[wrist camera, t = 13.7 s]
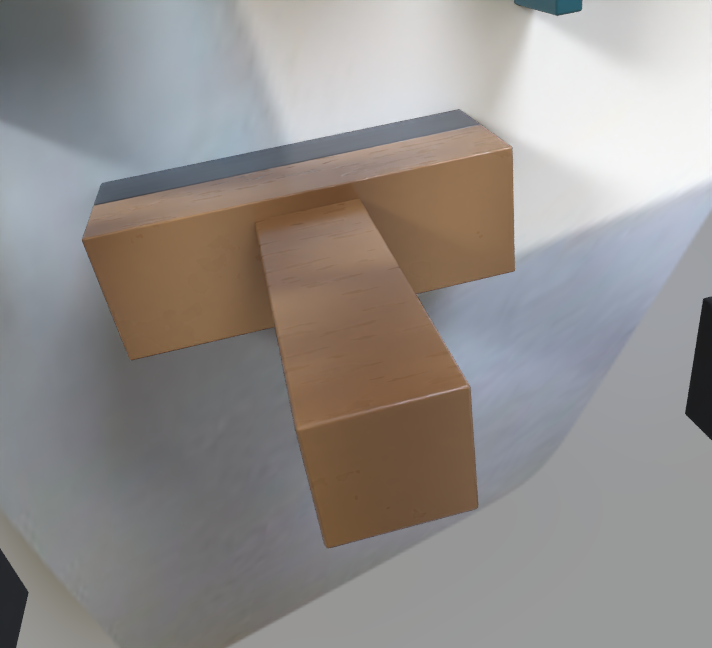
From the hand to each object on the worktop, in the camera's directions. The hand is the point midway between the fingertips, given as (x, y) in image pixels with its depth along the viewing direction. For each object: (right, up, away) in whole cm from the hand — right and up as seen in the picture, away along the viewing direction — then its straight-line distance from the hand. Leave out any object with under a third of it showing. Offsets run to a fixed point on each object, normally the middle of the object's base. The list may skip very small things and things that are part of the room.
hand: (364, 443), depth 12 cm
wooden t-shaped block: (-2, +6, +11) cm, 13 cm away
